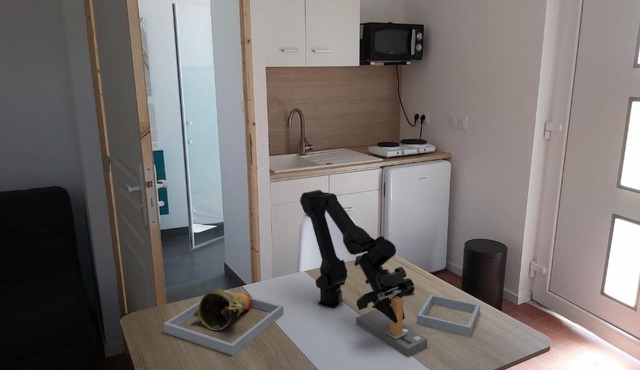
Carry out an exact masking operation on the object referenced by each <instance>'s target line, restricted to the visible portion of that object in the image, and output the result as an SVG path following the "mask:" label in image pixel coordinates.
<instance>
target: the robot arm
mask: <svg viewBox="0 0 640 370" xmlns="http://www.w3.org/2000/svg"><path fill="white" fill-rule="evenodd" d="M299 199H300V200H299V202H300V205H301V208H302V210H303V212H304V214H305V215H307V216H308V218H310V221H311V224H312V228H313V232H314V236H315V239H316V243H317V247H318V250H319V254H320V257H321V264H320V267H319V272H320V276H319V277H318V278H316V280H315V286H316V287H317V288H318V289H319V291H320V292H319V293H320V295H319V298H320V300H319V301H318V302H317V305H320V306H324V307H328V308H332V309H336V308H337V307H338V306H339V305H340V304H341V303H342V302H343V290H342V289H341V288H342V286H344V285H345V283H346V280H347V278H348V269H347V267H346V262H345V260H344V259H342V260H341V259H340V258H339V257H338V256H337V253H336V250H335V246H334V242H333V239H332V235H331V231H330V228H329V224H328V221H327V218H326V213H327V214H328V215H329V217H330V218H331V220H332V221H333V223H334V225H336V227H337V228H338V229H339V231H340V233H341V234H342V243H343V245H344V246H345V248H346V250H347V252H348V253H349V254H350V255H354V256H355V255H357V256H355V260H354V266H355V267H357V266H360V269H361V271H362V272H363V275H364V276H365V278H366V280H365V281H364V282H365V284H366V285H368V284H369V285H370V287H371V289H372V291H370V292H367V293H365V294H362V295H361V296H360V297H359V298H358V299H357V300H356V307H357V309H358V310H359V311H361V310H364V309H367V308H368V306H369V304H370V303H372V304H373V305H372V306H371V308H372V309H374V310H377V311H379V312H380V313H382V314H384V315H386V316H387V317H388V318H389V319H391V320H392V321H393V322H394V323H397V322H398V320H397V318H396V315H395V313H394V311H393V309H392V308H391V299H392V298H394V297H397V296H398V297H400V298H402V299H403V296H404V295H403V294H404V293H405V292H406V291H407V290H409V289H410V288H411V287H413V286H414V287H415V283H414V281H413V280H412V278H409V277H407V273H406V270H405V269H404V268H403V266H399V267H396V268H394V271H393V272H390V271H389V270H388V269H387V268H385V269H384V268H383V265H385V264H386V263H387V262H388V261H390V259H392V258H393V257H394V256H395V255H396V252H397V249H396V248H397V247H396V246H395V244H394V243H393V242H392V241H390V240H388V239H387V238H386V239H385V237H384V235H381V236H377V237H376V238H374V237H371V235H370V233H368V232H367V231H366V230H365V229H364V228H363V227H360V226H358V225H357V224H356V223H355V222H354V221H353V219H352V218H351V216H350V215H349V214H348V212H347V211H346V210H345V208H344V207H343V206H342V204H341V203H340V202H339V200H338V196H337V195H336V194H335V193H331V192H324V191H322V190H320V189H316V190H311V191H307V192H302V194H301V196H300V198H299ZM359 254H360V255H359ZM405 318H406V317H405V312H404V310H403V321H404V320H405Z"/></svg>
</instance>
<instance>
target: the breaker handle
mask: <svg viewBox="0 0 640 370" xmlns="http://www.w3.org/2000/svg"><path fill="white" fill-rule="evenodd" d="M390 306H391V308H392V309H393V311H394V313H395V315H396V318H397V320H398V322H397V323H394V322H393V321H392V320H391V321H390V330H388V331H386V332H385V333H386V334H387V335H389V336H391V337H392V338H394V339H396V340H397V339H399V338H401V337H403V336H405V335H407V333H405V332H404V331H402V325H403V321H404V320H403V311H404V298H403V297H402V298H400V297H398V296H397V297H394V298H392V299H391V305H390Z"/></svg>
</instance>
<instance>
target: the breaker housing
mask: <svg viewBox="0 0 640 370" xmlns="http://www.w3.org/2000/svg"><path fill="white" fill-rule="evenodd" d="M390 321H391V319H389V318H388V317H387V316H386V315H384V314H383V313H382V312H380V311H379V310H377V309H373V310H371V311H368V312H365V313H364V314H360V315H357V316H356V317H355V325H356V326H358V327H360V328H361V329H363V330H364V331H365V332H368V333H369V334H370V335H372V336H374V337H375V338H377V339H379V340H380V341H381V342H383V343H384V344H386V345H388V346H389V347H391V348H392V349H394V350H396V351H397V352H399V353H401V354H402V355H404V356H405V357H407V358H408V357H410V356H413V355H414V354H417V353H419V352H420V351H422V350H424V349H426V348H428V340H429V339H428V338H426V337H425V336H423V335H421V334H419V333H417V332H416V331H414V330H412V329H410V328H409V327H406V326H405V325H403V324H402V331H404V332H405V333H407V335H405V336H403V337H401V338H399V339H397V340H396V339H394V338H392V337H391V336H389V335H387V334H386V333H385V332H386V331H388V330H390Z"/></svg>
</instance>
